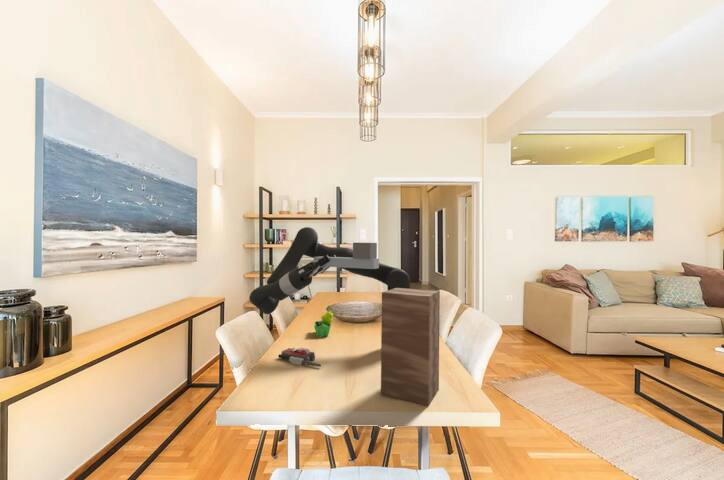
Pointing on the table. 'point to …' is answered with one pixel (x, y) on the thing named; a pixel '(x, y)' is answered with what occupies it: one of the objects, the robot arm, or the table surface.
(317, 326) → the green potted plant
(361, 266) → the gray l-shaped block
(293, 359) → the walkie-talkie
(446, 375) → the table surface
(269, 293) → the robot arm
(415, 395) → the walnut stand
